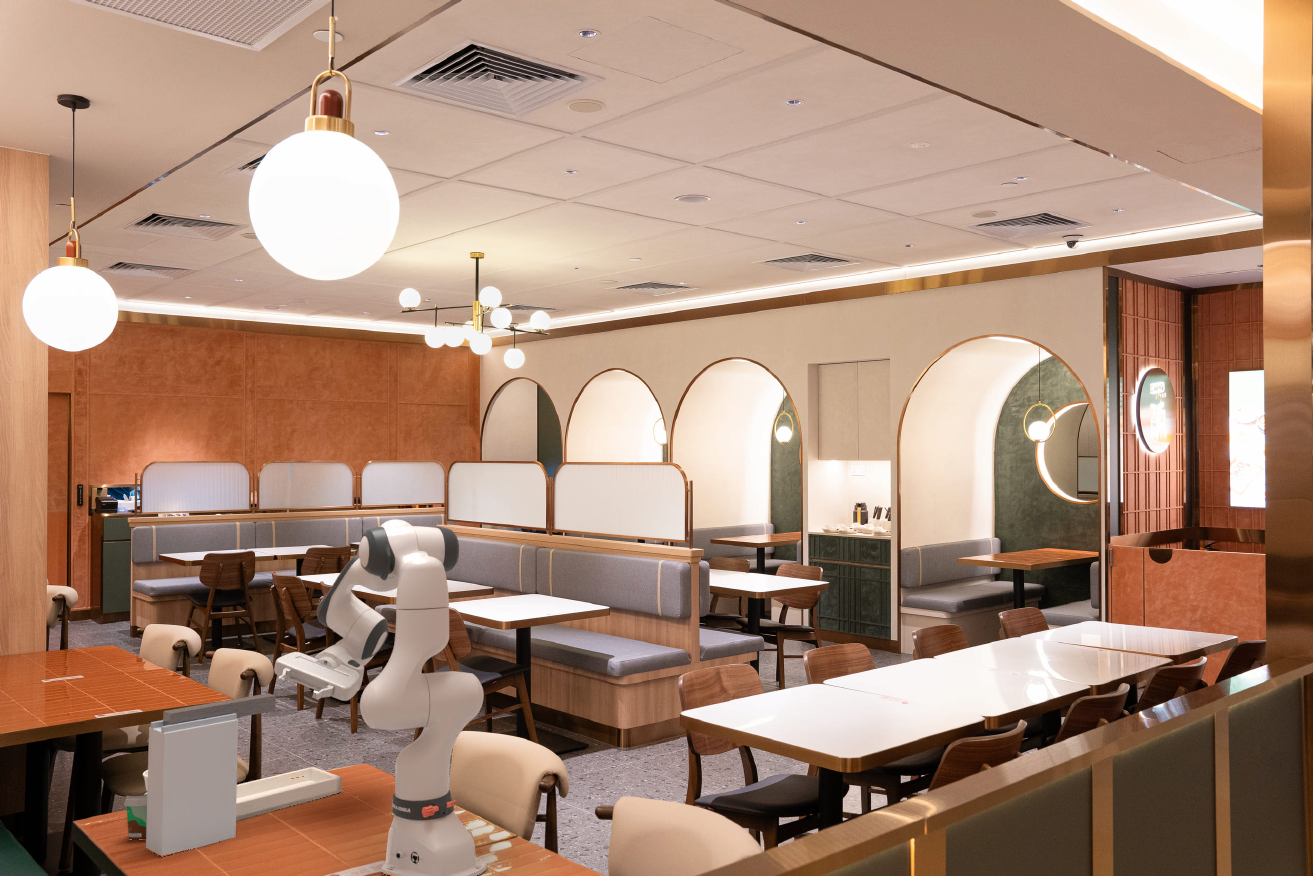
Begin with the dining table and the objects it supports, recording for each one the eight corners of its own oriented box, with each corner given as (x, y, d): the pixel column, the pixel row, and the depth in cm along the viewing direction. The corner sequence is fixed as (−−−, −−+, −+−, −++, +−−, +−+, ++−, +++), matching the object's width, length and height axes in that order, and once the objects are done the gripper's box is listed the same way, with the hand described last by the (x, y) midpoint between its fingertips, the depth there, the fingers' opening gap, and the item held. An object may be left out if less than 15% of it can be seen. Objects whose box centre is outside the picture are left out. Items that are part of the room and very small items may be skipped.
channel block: (235, 837, 218) (238, 714, 219) (161, 857, 206) (164, 728, 207) (219, 828, 223) (221, 709, 224) (145, 848, 211) (149, 721, 212)
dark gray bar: (275, 710, 228) (275, 695, 228) (169, 730, 210) (170, 713, 210) (267, 708, 230) (268, 693, 230) (163, 727, 212) (163, 711, 212)
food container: (144, 846, 212) (145, 799, 213) (122, 842, 214) (124, 796, 215) (188, 827, 224) (189, 783, 224) (167, 824, 226) (168, 780, 226)
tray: (341, 793, 249) (341, 777, 249) (221, 825, 225) (221, 807, 226) (312, 782, 258) (313, 766, 258) (194, 811, 234) (195, 794, 235)
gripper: (297, 640, 238) (261, 661, 225) (370, 669, 234) (338, 691, 221) (292, 663, 240) (256, 685, 227) (365, 692, 236) (332, 716, 223)
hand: (297, 688), depth 224 cm, fingers open, 8 cm apart
